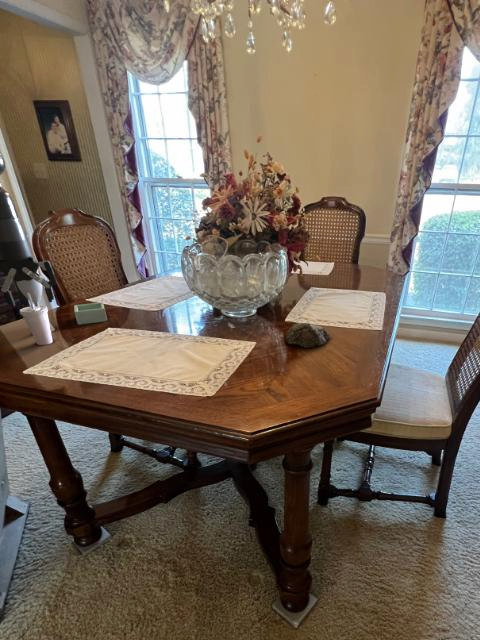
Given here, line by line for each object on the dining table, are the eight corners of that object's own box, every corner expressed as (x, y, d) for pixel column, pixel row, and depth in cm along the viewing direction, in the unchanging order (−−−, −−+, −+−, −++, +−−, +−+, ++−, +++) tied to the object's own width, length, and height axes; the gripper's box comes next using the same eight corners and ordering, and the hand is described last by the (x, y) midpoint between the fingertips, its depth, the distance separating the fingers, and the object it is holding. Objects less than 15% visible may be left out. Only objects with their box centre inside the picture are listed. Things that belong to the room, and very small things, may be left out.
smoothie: (34, 348, 102) (15, 296, 96) (29, 342, 107) (10, 292, 100) (60, 343, 106) (44, 292, 99) (54, 337, 110) (38, 288, 103)
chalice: (63, 329, 116) (43, 268, 107) (39, 336, 111) (17, 272, 102) (50, 325, 119) (31, 265, 111) (27, 331, 114) (5, 269, 106)
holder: (78, 324, 120) (74, 312, 118) (77, 317, 127) (74, 305, 125) (107, 321, 124) (104, 308, 122) (105, 314, 130) (102, 302, 128)
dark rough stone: (293, 331, 117) (293, 315, 114) (332, 335, 113) (332, 319, 111) (278, 345, 106) (278, 328, 104) (321, 350, 103) (321, 333, 100)
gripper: (-30, 242, 87) (-2, 311, 95) (41, 238, 93) (62, 303, 101) (-24, 238, 93) (2, 303, 101) (43, 234, 99) (63, 297, 107)
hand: (32, 303), depth 101 cm, fingers open, 8 cm apart
